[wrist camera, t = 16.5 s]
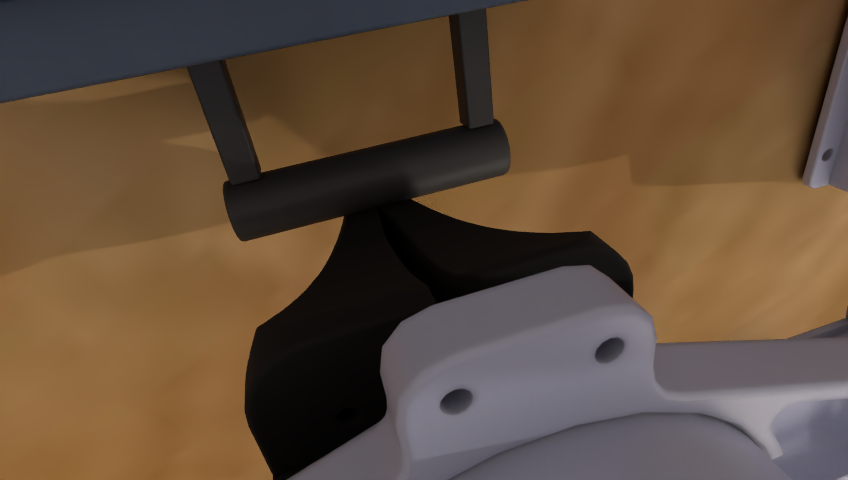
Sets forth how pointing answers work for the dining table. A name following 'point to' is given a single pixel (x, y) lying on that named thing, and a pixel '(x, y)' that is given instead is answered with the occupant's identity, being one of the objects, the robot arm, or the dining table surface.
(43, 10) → the drawer
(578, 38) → the dining table surface
